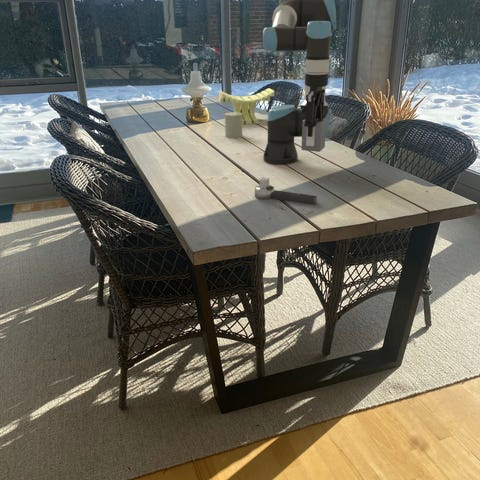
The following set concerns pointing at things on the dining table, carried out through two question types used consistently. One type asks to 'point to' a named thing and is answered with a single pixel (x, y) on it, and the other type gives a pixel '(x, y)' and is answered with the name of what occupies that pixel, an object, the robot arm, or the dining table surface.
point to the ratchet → (281, 193)
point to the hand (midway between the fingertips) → (313, 142)
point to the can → (233, 124)
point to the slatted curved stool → (246, 104)
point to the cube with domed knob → (319, 135)
